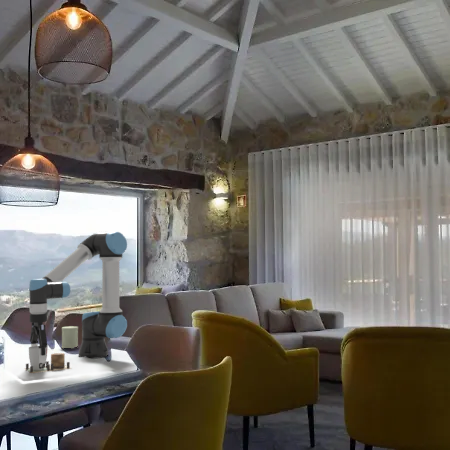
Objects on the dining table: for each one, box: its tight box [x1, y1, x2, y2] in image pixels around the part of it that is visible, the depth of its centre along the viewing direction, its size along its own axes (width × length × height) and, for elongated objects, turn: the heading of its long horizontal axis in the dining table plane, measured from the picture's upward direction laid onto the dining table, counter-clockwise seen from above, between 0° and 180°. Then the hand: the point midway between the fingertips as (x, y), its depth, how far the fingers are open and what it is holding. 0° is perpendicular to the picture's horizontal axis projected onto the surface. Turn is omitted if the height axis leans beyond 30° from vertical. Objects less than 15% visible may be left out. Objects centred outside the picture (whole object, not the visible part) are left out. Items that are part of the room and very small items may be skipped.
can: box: [61, 325, 79, 349], centre depth 323 cm, size 9×9×12 cm
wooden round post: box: [50, 352, 66, 369], centre depth 257 cm, size 6×6×6 cm
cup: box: [28, 345, 48, 370], centre depth 252 cm, size 8×8×10 cm
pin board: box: [24, 360, 73, 374], centre depth 255 cm, size 18×13×4 cm
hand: (38, 360), depth 253 cm, fingers open, 13 cm apart
